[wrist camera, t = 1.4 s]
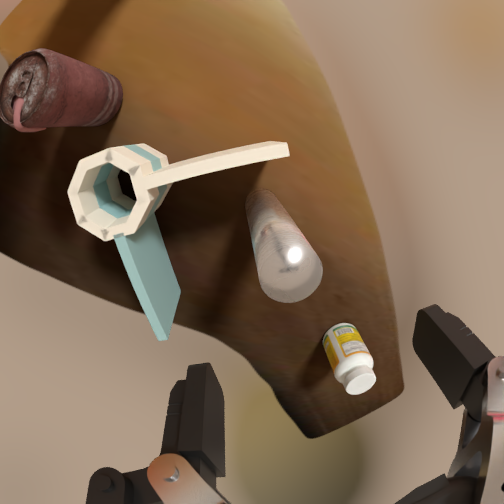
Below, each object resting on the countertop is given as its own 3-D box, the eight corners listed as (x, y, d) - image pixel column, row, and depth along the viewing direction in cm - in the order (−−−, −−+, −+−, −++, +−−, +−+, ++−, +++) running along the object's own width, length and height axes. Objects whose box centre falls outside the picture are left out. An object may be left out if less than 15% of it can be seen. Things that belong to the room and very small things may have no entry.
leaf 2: (104, 157, 26) (60, 168, 18) (162, 137, 26) (133, 138, 18) (151, 297, 33) (132, 344, 25) (204, 286, 33) (197, 335, 25)
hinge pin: (241, 192, 29) (253, 253, 14) (274, 185, 29) (319, 239, 14) (248, 223, 31) (265, 308, 16) (280, 216, 30) (324, 294, 16)
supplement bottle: (342, 315, 37) (368, 363, 28) (362, 332, 38) (388, 377, 29) (314, 340, 38) (332, 390, 29) (335, 355, 40) (355, 402, 31)
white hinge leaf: (104, 157, 26) (60, 168, 18) (264, 113, 26) (278, 102, 18) (121, 216, 29) (86, 246, 21) (277, 178, 29) (296, 195, 20)
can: (80, 135, 25) (-4, 145, 12) (75, 84, 22) (-6, 69, 9) (127, 120, 25) (53, 115, 12) (122, 67, 22) (52, 31, 10)
